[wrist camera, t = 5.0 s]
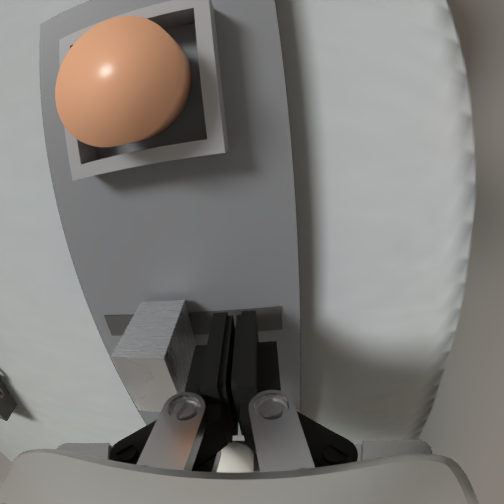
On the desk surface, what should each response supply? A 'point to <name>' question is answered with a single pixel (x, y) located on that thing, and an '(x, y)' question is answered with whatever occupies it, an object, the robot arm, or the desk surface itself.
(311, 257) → the desk surface
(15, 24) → the desk surface
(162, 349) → the lever
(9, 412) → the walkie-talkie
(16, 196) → the desk surface
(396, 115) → the desk surface
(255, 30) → the panel
